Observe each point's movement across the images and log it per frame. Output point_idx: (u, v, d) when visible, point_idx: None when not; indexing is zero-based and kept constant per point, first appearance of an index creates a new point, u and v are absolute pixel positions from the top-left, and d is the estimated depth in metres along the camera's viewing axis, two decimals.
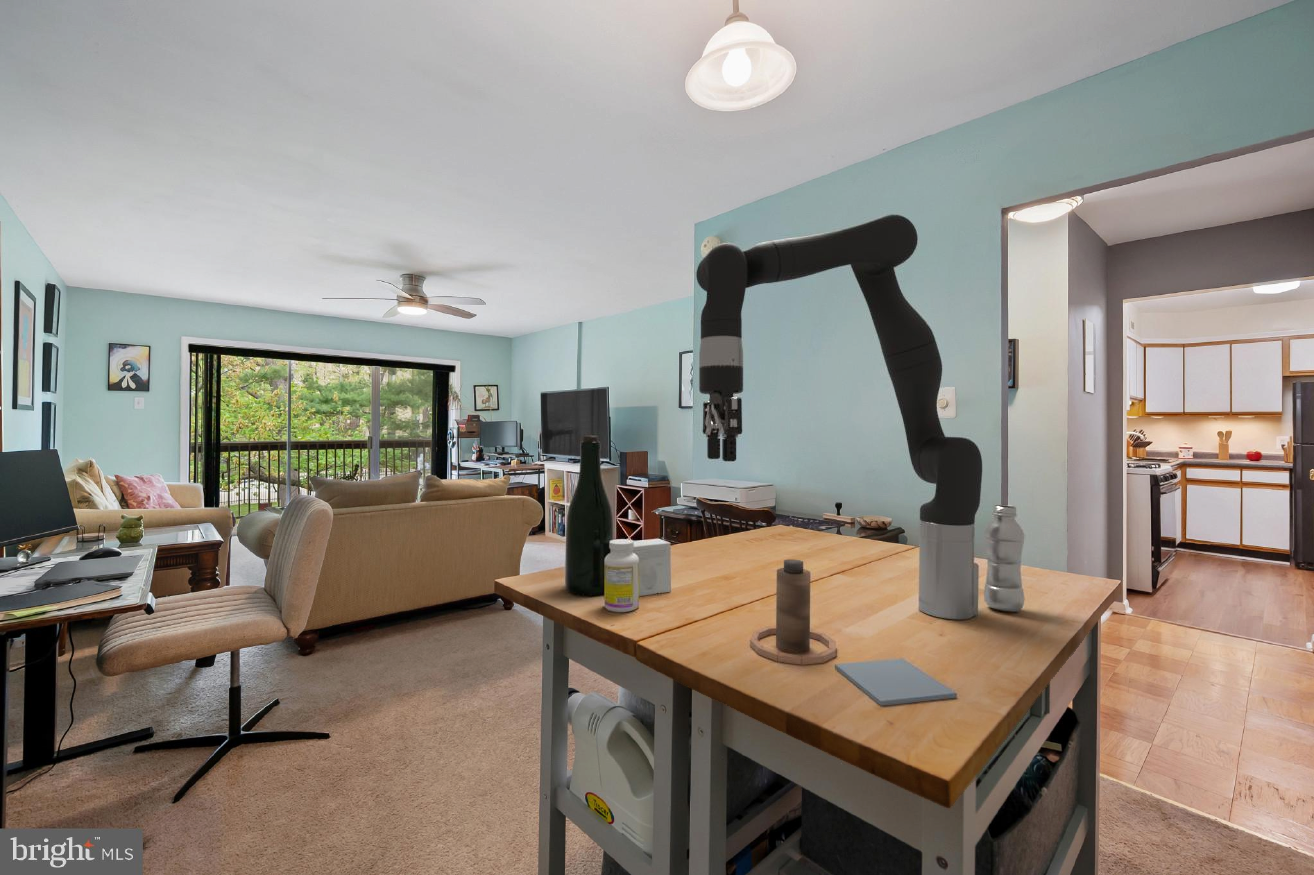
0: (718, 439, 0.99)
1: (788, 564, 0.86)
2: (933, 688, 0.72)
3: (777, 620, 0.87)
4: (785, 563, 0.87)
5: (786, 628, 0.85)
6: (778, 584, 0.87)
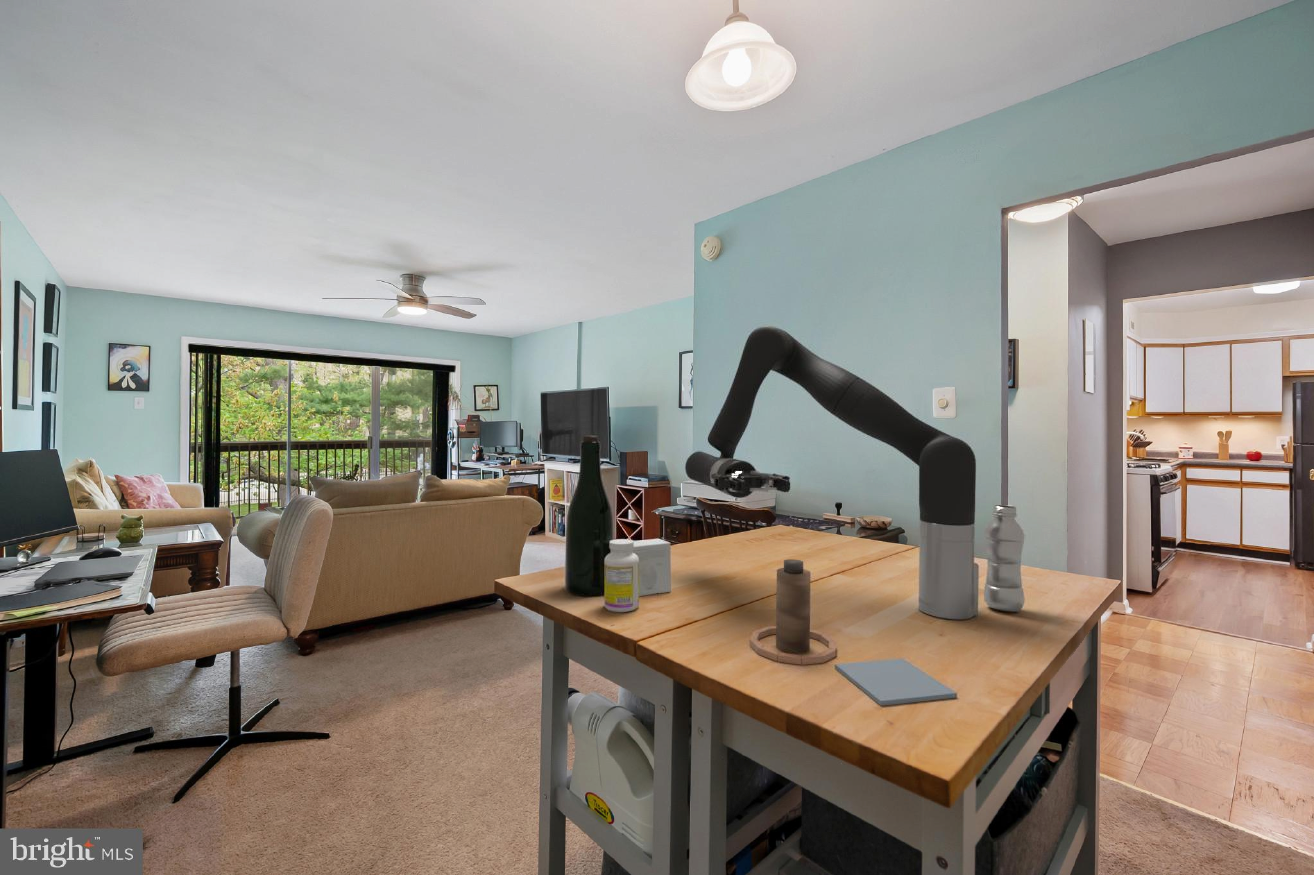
0: (777, 480, 1.03)
1: (788, 564, 0.86)
2: (933, 688, 0.72)
3: (777, 620, 0.87)
4: (785, 563, 0.87)
5: (786, 628, 0.85)
6: (778, 584, 0.87)
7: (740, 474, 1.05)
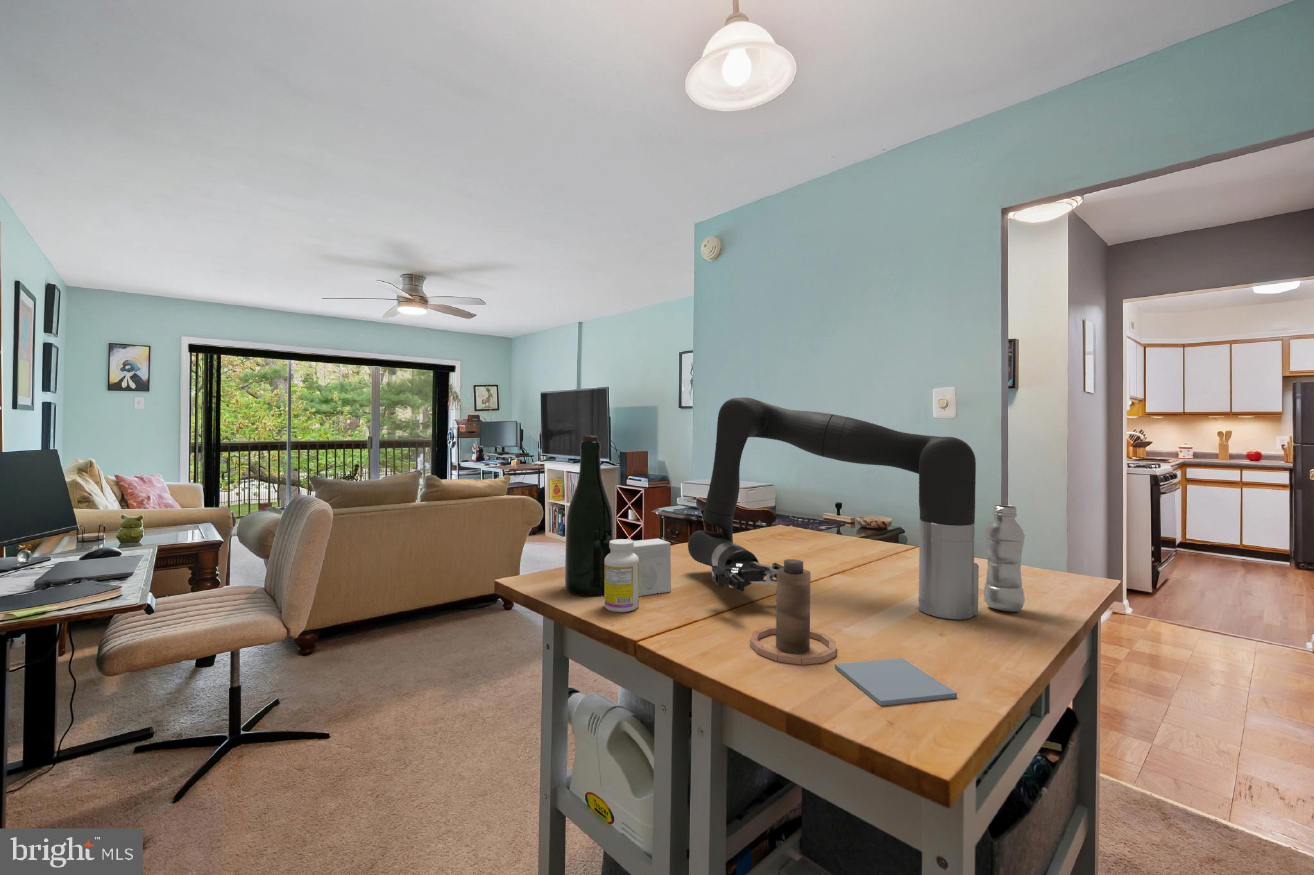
0: None
1: (788, 564, 0.86)
2: (933, 688, 0.72)
3: (777, 620, 0.87)
4: (785, 563, 0.87)
5: (786, 628, 0.85)
6: (778, 584, 0.87)
7: (740, 568, 1.05)
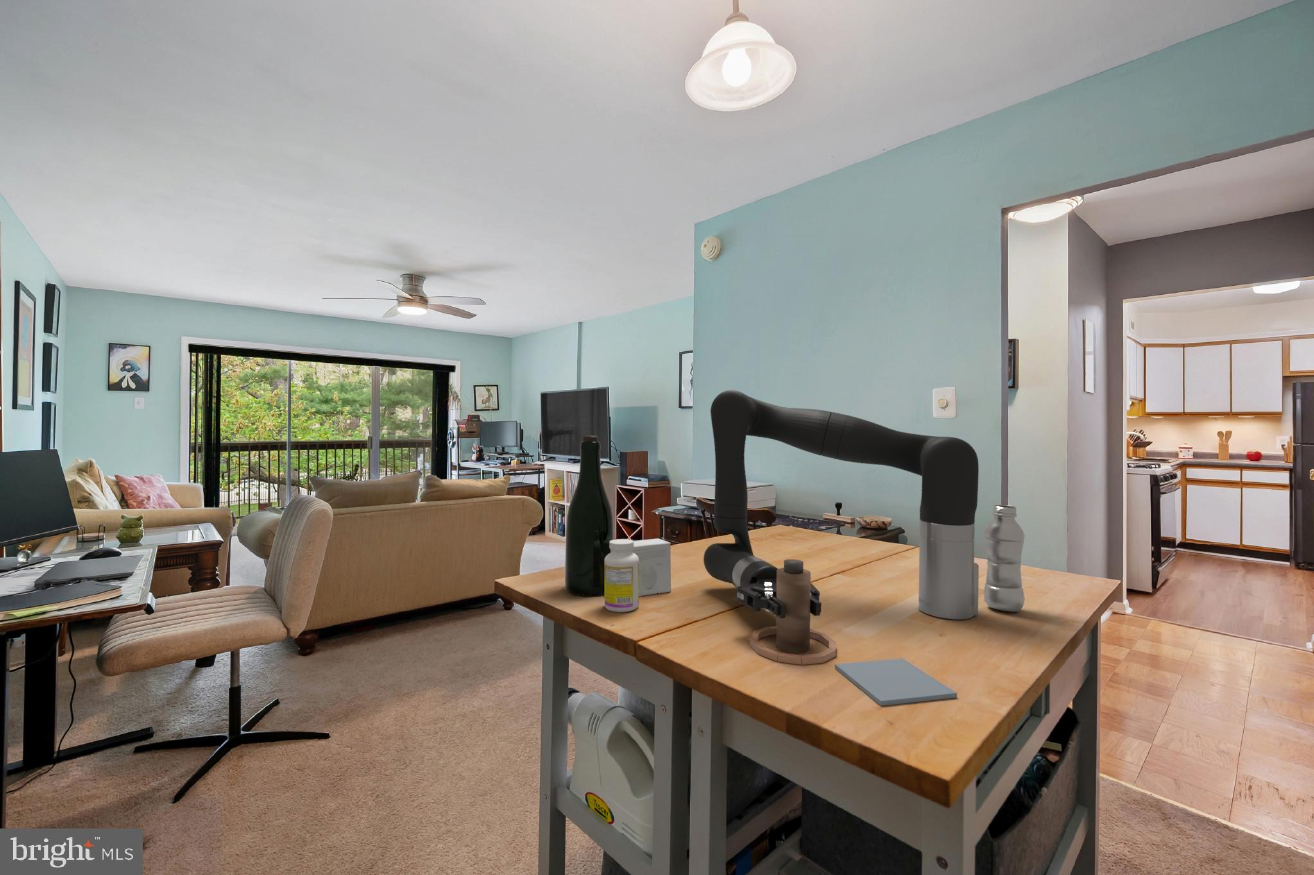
0: None
1: (788, 564, 0.86)
2: (933, 688, 0.72)
3: (777, 620, 0.87)
4: (785, 563, 0.87)
5: (786, 628, 0.85)
6: (778, 584, 0.87)
7: (771, 587, 0.92)
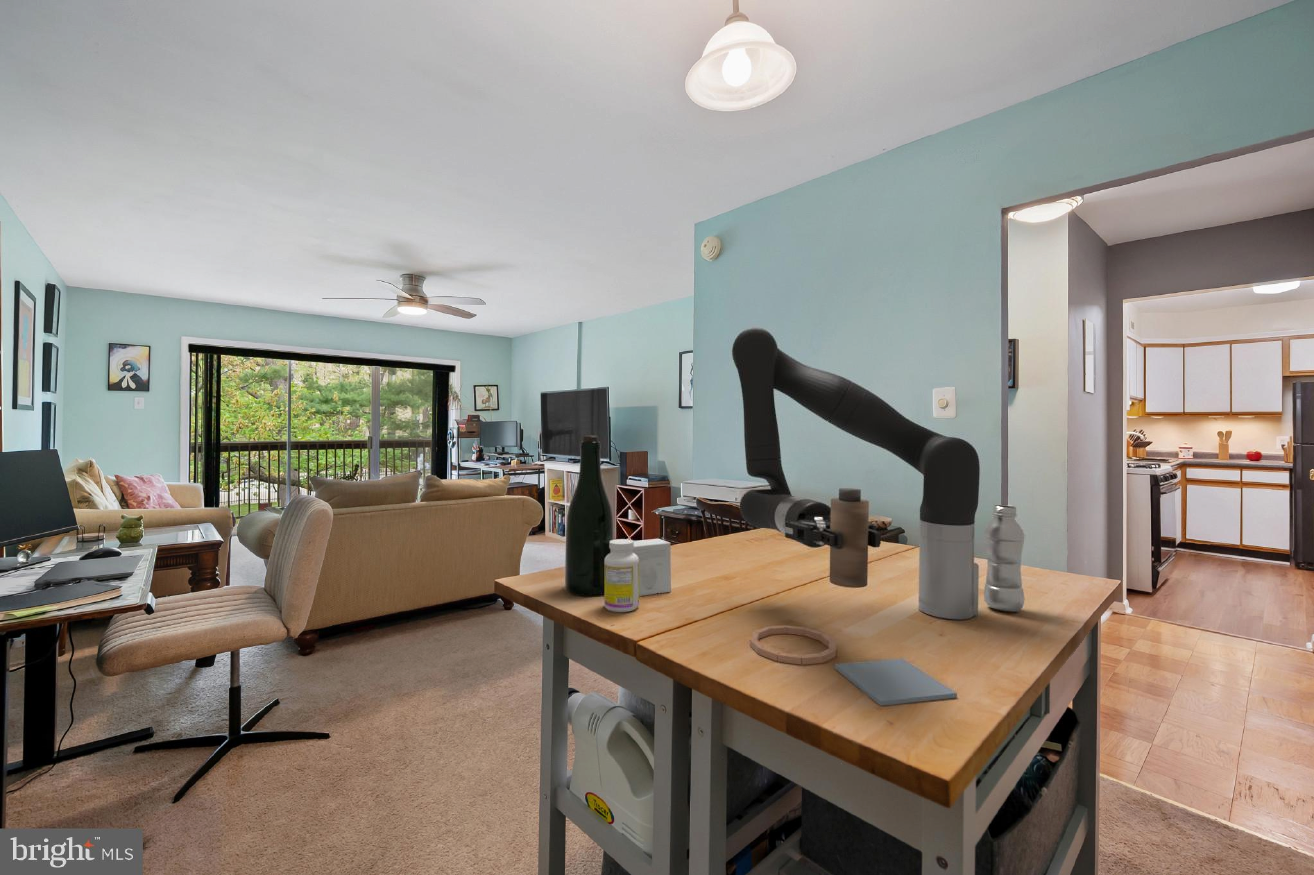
0: None
1: (844, 491, 0.79)
2: (933, 688, 0.72)
3: (832, 553, 0.80)
4: (841, 491, 0.79)
5: (843, 560, 0.78)
6: (833, 513, 0.79)
7: None
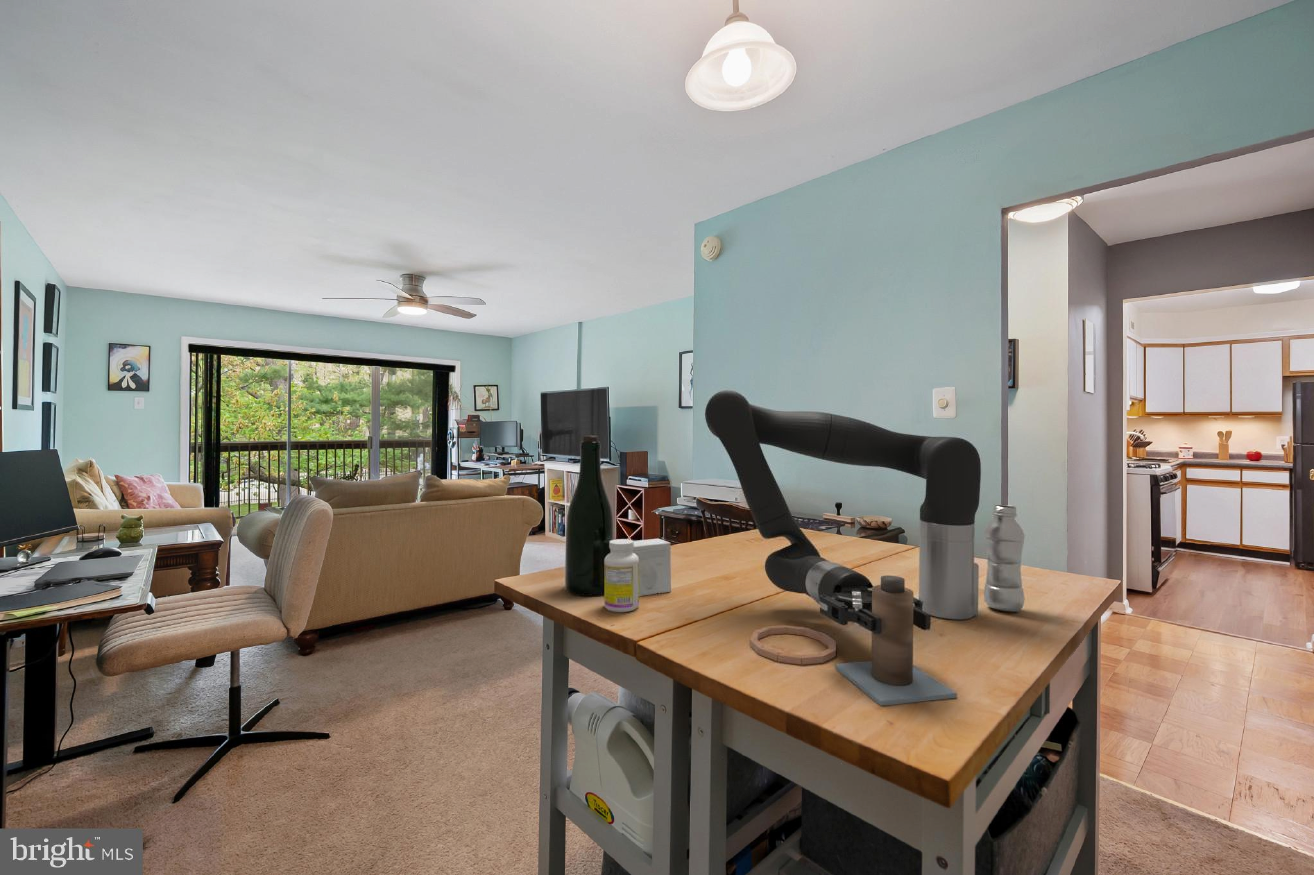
0: None
1: (888, 581, 0.74)
2: (933, 688, 0.72)
3: (874, 646, 0.75)
4: (883, 580, 0.75)
5: (887, 656, 0.73)
6: (875, 605, 0.75)
7: (861, 597, 0.80)
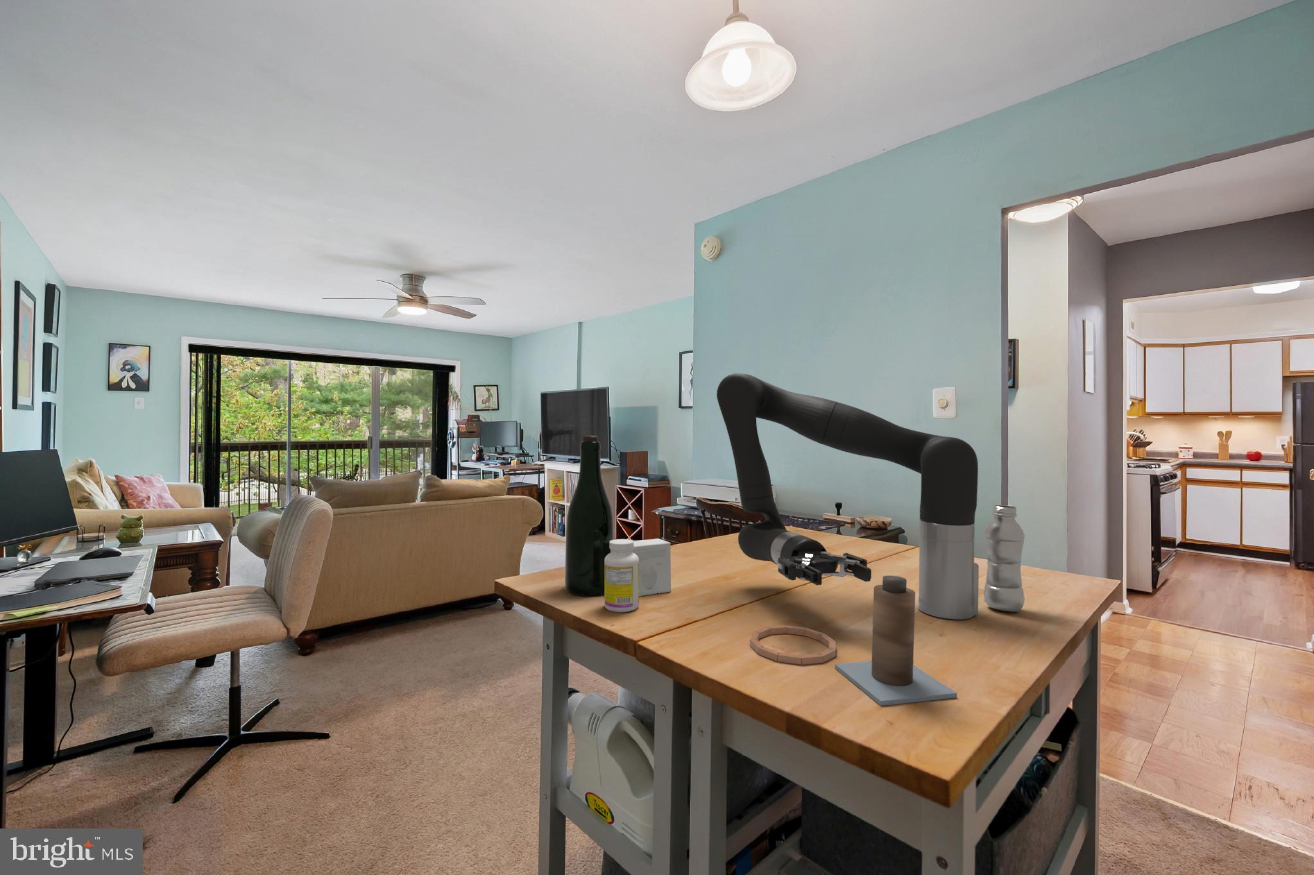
0: (854, 565, 0.92)
1: (889, 582, 0.74)
2: (933, 688, 0.72)
3: (875, 646, 0.75)
4: (885, 580, 0.75)
5: (888, 656, 0.73)
6: (877, 604, 0.75)
7: (811, 558, 0.94)
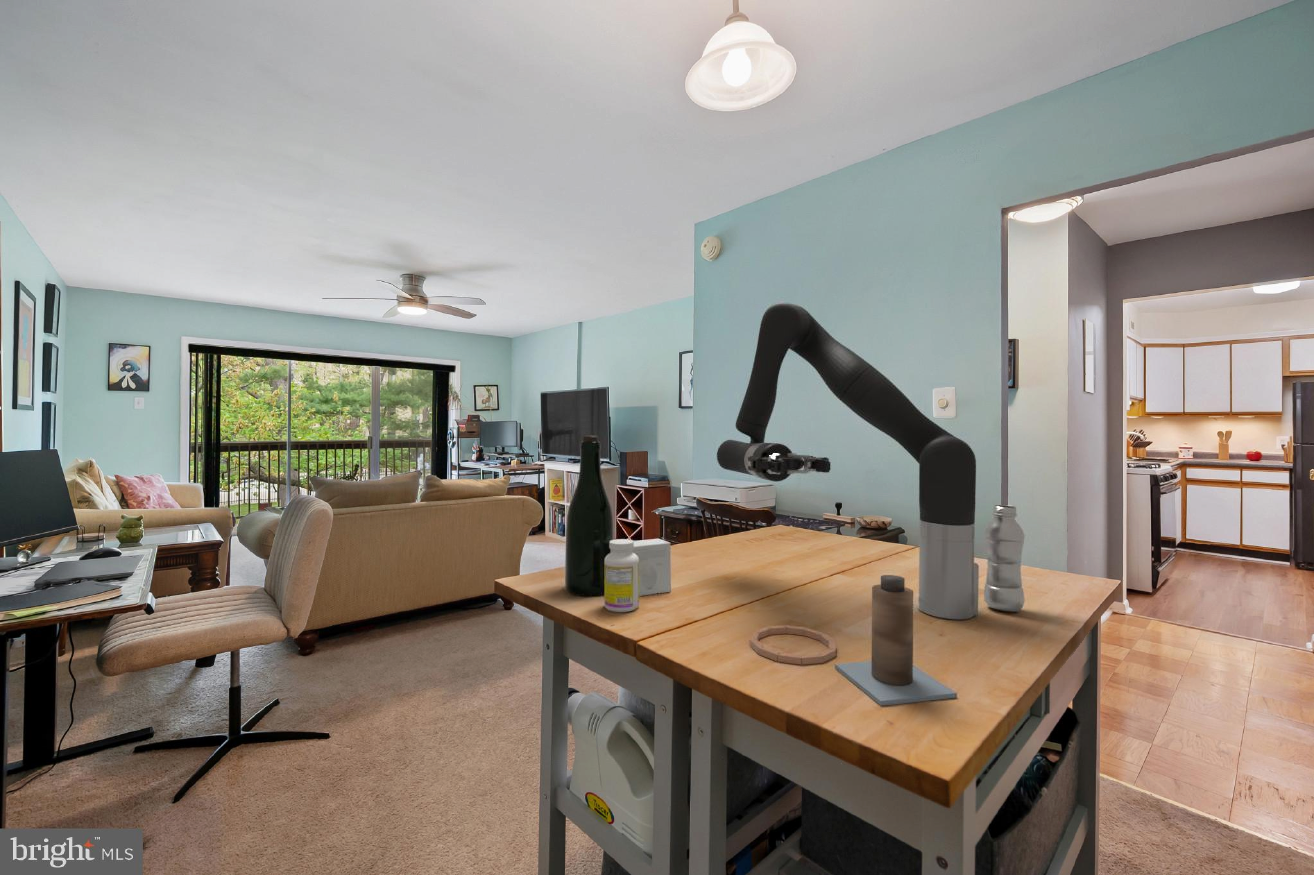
0: (816, 460, 1.00)
1: (887, 581, 0.74)
2: (933, 688, 0.72)
3: (874, 646, 0.75)
4: (883, 579, 0.75)
5: (887, 655, 0.73)
6: (875, 604, 0.75)
7: (778, 456, 1.03)
